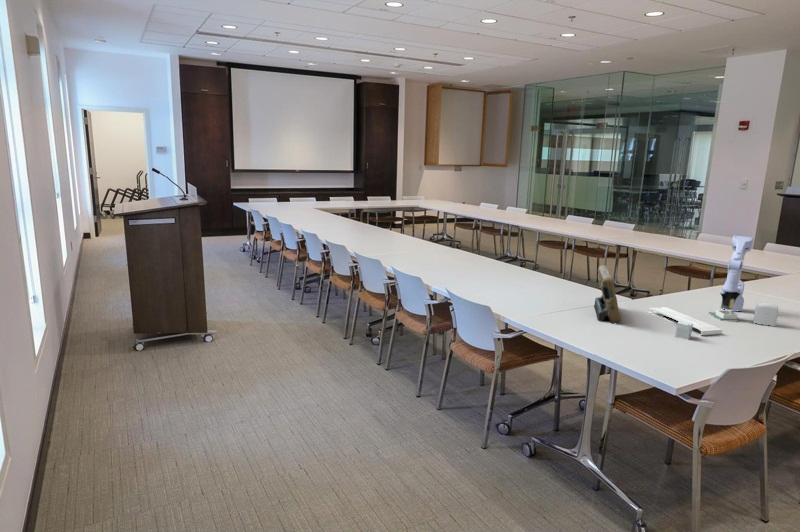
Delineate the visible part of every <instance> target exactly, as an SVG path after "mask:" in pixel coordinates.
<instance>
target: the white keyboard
mask: <svg viewBox="0 0 800 532" xmlns="http://www.w3.org/2000/svg"><path fill="white" fill-rule="evenodd" d="M648 309H649V310H651V311H647V312H648V313H647V314H649V313H650V314H649V315H653V316H654V317H656V316H657V318H658V317H660V318H659V319H661V318H662V319H661V320H663V318H665V317H663V316H666V317H669V318H672V319H674V320H676V321H678V322H679V321H680V320H681V321H686V322H690V323H693V327H692V328H695V329H697V330H699V332H700V334H699V337H702V335H703V336H714V335H715V336H717V334H718V335H722V334H723V330H722V329H721V328H720V327H718V326H715V325H713V324H709V323H707V322H704V321H701V320H699V319H696V318H694V317H691V316H689V315H687V314H684V313H682V312H680V311H677V310H674V309H672V308H670V307H667V306H661V307H649V308H648ZM657 313H658V314H660V315H658V314H657Z"/></svg>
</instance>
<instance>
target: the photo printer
mask: <svg viewBox="0 0 800 532" xmlns="http://www.w3.org/2000/svg"><path fill="white" fill-rule="evenodd" d="M778 312H779V305H777V304H776V303H773V302H769V301H768V302H765V301H763V302H761V301H760V302H757V303H756V305H755V309H754V313H753V319H752V323H753V322H754V323H757V324H756V325H761V324H763V325H762V326H768V325H770V327H775V326H776V323H777V318H778ZM754 323H753V324H754Z"/></svg>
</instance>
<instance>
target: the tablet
mask: <svg viewBox="0 0 800 532" xmlns="http://www.w3.org/2000/svg"><path fill="white" fill-rule="evenodd" d="M597 280H598V286H599V287H600V291H601V293H602V295H600V296H598V297H595V299H594V305H593V308H594V312H595V314H596V318H597V319H596V320H597V321H599V322H605V320H606V317H608V319H609V322H610V323H612V324H614V323H618V324H620V322H621V313H620V309H619V306H618V305H619V304H618V299H617V295H616V286H615V282H614V280H613V277H612V275H611V272H610V271H609V268H608V267H607V266H606V265H605V264H604V265H603V264H602V265H599V266H598V269H597ZM618 324H617V325H618Z"/></svg>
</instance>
